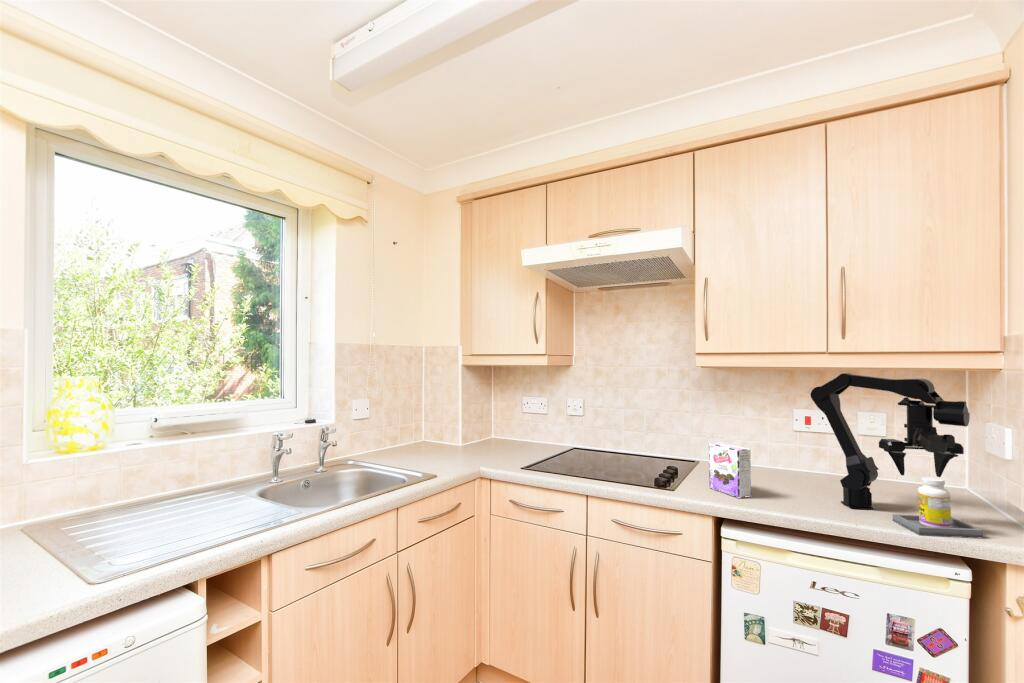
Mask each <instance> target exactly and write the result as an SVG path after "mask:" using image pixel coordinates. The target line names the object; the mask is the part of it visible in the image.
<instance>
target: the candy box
mask: <svg viewBox="0 0 1024 683" xmlns="http://www.w3.org/2000/svg"><path fill="white" fill-rule="evenodd" d="M751 465H752V464H751V448H747V447H743V446H738V445H733V444H729V443H724V442H721V441H719V442H710V443H708V466H709V467H708V468H709V470H708V474H709V477H708V478H709V480H708V481H709V483H708V484H709V488H710V487H711V488H714V489H717V490H720V491H723V492H725V493H728V494H731V495H734V496H736V497H745V496H751V497H752V492H751V491H752V484H751V483H752V482H751V481H752V480H751V479H752V476H751V474H752V473H751V472H752V471H751V470H752V469H751V468H752V467H751ZM711 488H710V489H711ZM725 493H724V494H725ZM728 494H727V495H728ZM731 495H730V496H731ZM736 497H735V498H736Z"/></svg>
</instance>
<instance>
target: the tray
mask: <svg viewBox="0 0 1024 683" xmlns="http://www.w3.org/2000/svg"><path fill="white" fill-rule="evenodd" d="M893 521H894V523H895V522H896V523H895V524H897V523H898V524H897V525H899V526H901V527H903V528H904V529H907V530H909V531H910V532H912V533H915V534H916V535H918V536H925V537H927V536H928V537H929V536H930V537H947V538H948V537H951V536H962V537H961V538H968V537H983V538H982V539H984V529H982V528H978V527H977V526H974V525H971V524H969V523H967V522H965V521H963V520H961V519H958V518H956V517H953V516H951V528H944V527H926V526H924V525H922V524H921V523H920V521H919V514H918V515H917V514H900V513H899V514H898V513H895V514H894V513H892V522H893ZM951 538H952V537H951Z"/></svg>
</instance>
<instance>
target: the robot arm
mask: <svg viewBox="0 0 1024 683" xmlns="http://www.w3.org/2000/svg"><path fill="white" fill-rule="evenodd" d="M850 387H854V388H863V389H869V390H870V389H871V390H877V391H885V392H891V393H894V394H896V395H899V396H902V397H904V398H903V399H902V400H901V401H899V402H897V405H898V406H906V423H903V424H904V425H903V426H904V428H906V437H904V438H903V439H904V441H901V440H898V439H896V438H881V439H880V440H878V448H879V449H882V450H883V451H884V452H887V453H888V455H889V456H890V458H891V459H892V461H893V463H894V464H895V466H896V468H897V470H898V472H899V474H900V476H905V470H906V469H905V457H906V455H907V453H906V452H904V451H905V450H925V452H929V453H933V461H934V470H935V475H936V478H941V477H942V475H943V473H944V471H945V469H946V467H947V465H948V463H949V462H950V460H952V459H953V458H956V457H957V458H958V457H959V455H964V452H965V451H964V446H963V445H962V444H961V443H958V442H956V440H955V439H956V438H955V436H954V435H952V434H938V432H937V427H935V426H934V425H933V419H934V421H936V422H938V424H939V425H947V426H956V427H957V426H958V427H968V426H969V423H970V419H971V418H970V412H969V409H968V405H967V401H962V400H960V401H954V400H953V401H950V400H944V399H943V398H942V397H941V395H940V394H939V393H938V392H936V390H935V386H934V383H932V382H931V381H930V380H929V379H926V378H904V379H903V378H902V379H901V378H899V379H898V378H897V379H895V378H894V379H893V378H885V377H879V376H870V375H868V376H867V375H860V374H853V373H850V372H847V373H840V374H839V375H838V376H836V377H835V378H833V379H832V380H829V381H828V382H826V383H824V384H823V385H821V386H816V387H814V388H813V389H811V391H810V399H811V400H812V401H813V403H814V404H815V405H816V407H817V408H818V409H819V410H820V411H821V412H822V413H823V414H824V415H825V416H826V419H827V421H828V423H829V426H830V428H831V430H832V431H833V434H834V435H835V438H836V440H837V442H838V444H839V445H840V448H841V450H842V451H843V454H844V456H845V467H846V471H847V475H846V476H844V477H843V478H841V479H840V480H839V482H840V484H841V487H842V493H843V494H842V497H843V500H841V501H840V503H841V504H843V505H844V506H846V507H848V508H850V509H853V510H855V509H857V510H874V507H873V499H872V498H873V497H872V496H873V494H872V492H871V488H870V487H871V486H872V485H871V484H872V482H875V481H876V480H877V478H878V477H879V472H878V470H880V469H879V467H878V466H877V465H876V464H875V461H874V457H872V456H869V457H867V456H866V455H865V454H864V453H863V452H862V450H861V448H860V446H859V445H858V443H857V441H856V439H855V436H854V434H853V432H852V431H851V428H850V426H849V424H848V422H847V420H846V418H845V416H844V414H843V413H842V410H841V409H842V408H841V400H840V395H841V394H842V393H844V392H845V391H846V390H847V389H848V388H850Z"/></svg>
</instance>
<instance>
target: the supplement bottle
mask: <svg viewBox="0 0 1024 683" xmlns="http://www.w3.org/2000/svg"><path fill="white" fill-rule="evenodd" d="M921 482H922V485H921V486H919V487H918V488H917V496H918V497H917V498H918V500H917V501H918V502H917V503H918V515H919V521H920V523H921V524H922V525H924V526H926V527H944V528H951V517H952V509H951V508H952V507H951V506H952V505H951V493H950V491H949V490H948V489H946V488H945V484H946V483H945V479H943V478H941V477H934V476H933V477H932V476H924V477H921Z"/></svg>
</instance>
